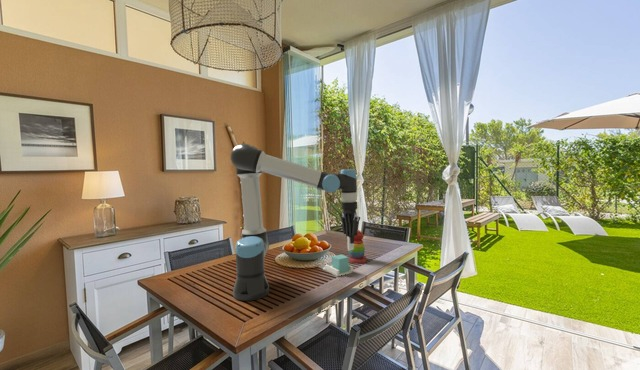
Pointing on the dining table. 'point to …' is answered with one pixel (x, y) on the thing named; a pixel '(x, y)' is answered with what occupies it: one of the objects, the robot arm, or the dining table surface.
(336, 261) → the block
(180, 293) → the dining table surface
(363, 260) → the stacking bear
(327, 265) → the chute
